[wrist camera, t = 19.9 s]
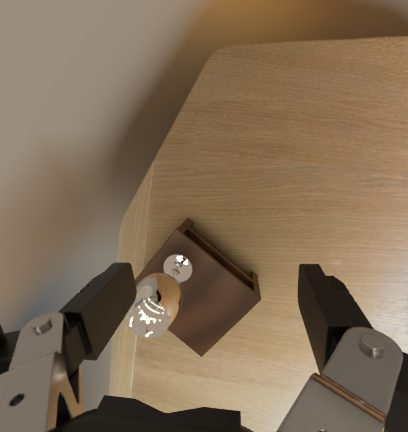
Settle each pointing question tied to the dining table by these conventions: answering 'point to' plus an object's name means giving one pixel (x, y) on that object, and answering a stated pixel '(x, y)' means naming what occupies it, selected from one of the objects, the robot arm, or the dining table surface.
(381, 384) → the robot arm
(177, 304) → the wineglass
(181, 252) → the shelf
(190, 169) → the dining table surface
